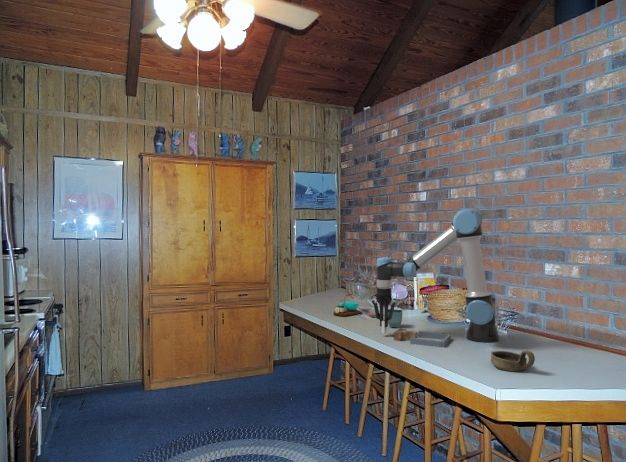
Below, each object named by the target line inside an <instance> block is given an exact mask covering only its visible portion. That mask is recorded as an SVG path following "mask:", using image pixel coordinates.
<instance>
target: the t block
mask: <svg viewBox="0 0 626 462" xmlns="http://www.w3.org/2000/svg"><path fill="white" fill-rule="evenodd" d="M410 338H418V331H415V330H413V331H411V330H407V328H400V327H398V329H397V330H395V331H394V332H393V341H396V342H402V340H403V341H410Z"/></svg>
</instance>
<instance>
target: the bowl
mask: <svg viewBox="0 0 626 462" xmlns="http://www.w3.org/2000/svg"><path fill="white" fill-rule="evenodd" d="M526 355H527V356H528V358H527V357H526ZM527 359H528V360H527ZM535 360H536V357H535V354H534V353H533V351H531V350H529V349H525V350H522V351H521V353H516V352H512V351H507V350H494V351H490V362H491V364H492V365H493V366H494V367H495V368H496V369H499V370H501V371H505V372H521V371H524V370H527V369H529V368H531V367H532V366H534V364H535Z"/></svg>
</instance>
